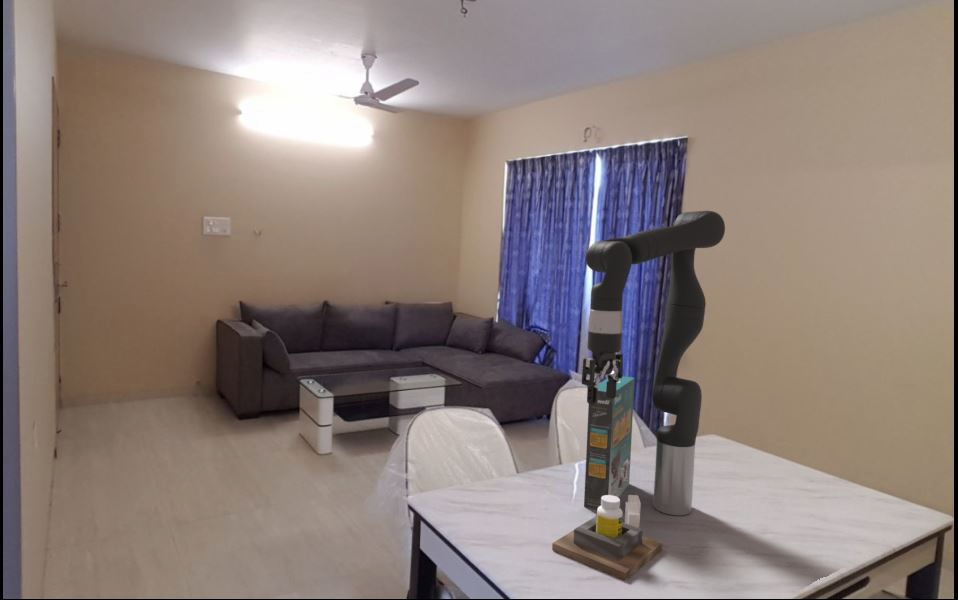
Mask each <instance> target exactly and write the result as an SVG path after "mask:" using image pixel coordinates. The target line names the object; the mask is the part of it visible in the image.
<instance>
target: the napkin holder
mask: <svg viewBox="0 0 958 600" xmlns="http://www.w3.org/2000/svg"><path fill="white" fill-rule="evenodd" d="M641 504H642V503H641V500H640V497H639V495H636V494H635V495H633V494H627V501H625V511H624V523H626V524H628V525H631V526H634V527H637V528H640V521H641V520H640V519H641Z"/></svg>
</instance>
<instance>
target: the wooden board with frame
mask: <svg viewBox="0 0 958 600" xmlns="http://www.w3.org/2000/svg"><path fill="white" fill-rule="evenodd" d="M596 523H597V515H595V516H594V517H592V518H591V519H588V520H587V521H586V522H583V524H581V525H579V526H577V527H576V528H574V529H573V530H572V531H570V532H568V533H567V534H565V535H563V536H562V537H560V538H559V539H556V540H555V541H554V542H552V543H551V545H552V547H551V548H552V551H554V552H557V553H559V554H561V555H564V556H566V557H568V558H571V559H573V560H576V561H578V562H581V563H583V564H586V565H587V566H590V567H593V568H595V569H596V570H599V571H602V572H604V573H607V574H609V575H612V576H614V577H616V578H618V579H621V580H623V581H626V580H627V579H628V578H630V577H631V576H632V575H634V573H636V572H637V571H638V570H640V568H642V567H643V566H645V564H646V563H648V562H649V561H651V560H652V559H653V558H654V557H655V556H657V555H658V554H659V553H660V552H661V551H663V546H664V545H663V542H661V541H658V540H655V539H653V538H650V537H646V536H644V535H643V533H644V528H643V529H642V528H640V527H639V528H637V527H634V526H631V525H628V524H626V523H625V522H623V521H622V535H621V536H620V537H618V538H617V539H616V540H614V539H611V538H609V537H606V536H603V535H601V534H598V533H596Z"/></svg>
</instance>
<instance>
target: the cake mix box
mask: <svg viewBox="0 0 958 600" xmlns="http://www.w3.org/2000/svg"><path fill="white" fill-rule="evenodd" d="M607 381H608V380H607V378H606V379H604V380H603V381H600V382H599V385H598V387H597V388H598V396H597V404H589V403H588V409H587V411H588V412H587V434H586V435H587V436H586V452H585V453H586V457H585V473H584V474H585V475H584V477H585V478H584V498H583V499H584V500H583V501H584V502H583V507H584V508H588V509H592V510H595V511H597V509H598V507H599V506H601V497H602V496H604V495H613V496H616V497H618V498H619V499H620V496H621V495H622V494H623V492H624V491H625V490H626V489H627V488H628V486H629V485H630V474H631V473H630V471H631V458H632V457H631V454H632V453H631V452H632V437H633V435H632V434H633V433H632V432H633V418H634V417H633V415H634V397H635V377H630V376H622V378H619V381H618V382H617V385H616V398H608V397H606V386H607Z"/></svg>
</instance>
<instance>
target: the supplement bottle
mask: <svg viewBox="0 0 958 600" xmlns="http://www.w3.org/2000/svg"><path fill="white" fill-rule="evenodd" d="M620 506H621V499H620V497H619V498H618V497H616V496H613V495H604V496H602V497H601V506H599V507H598V509H597V510H596V516H597V523H596V533H598V534H601V535H603V536H606V537H609V538H611V539H614V540H616V539H617V538H618V537H620V536H621V535H622V522H623V510H622V509H621V507H620Z"/></svg>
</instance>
